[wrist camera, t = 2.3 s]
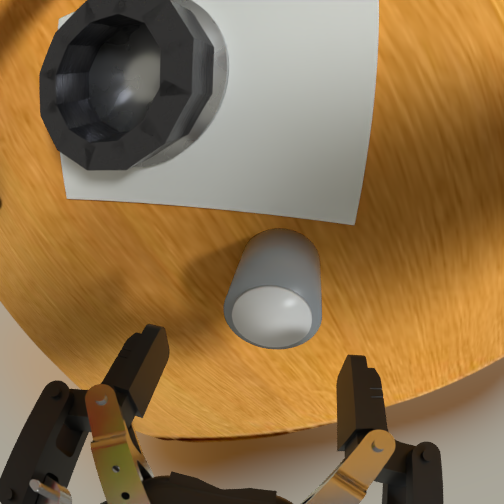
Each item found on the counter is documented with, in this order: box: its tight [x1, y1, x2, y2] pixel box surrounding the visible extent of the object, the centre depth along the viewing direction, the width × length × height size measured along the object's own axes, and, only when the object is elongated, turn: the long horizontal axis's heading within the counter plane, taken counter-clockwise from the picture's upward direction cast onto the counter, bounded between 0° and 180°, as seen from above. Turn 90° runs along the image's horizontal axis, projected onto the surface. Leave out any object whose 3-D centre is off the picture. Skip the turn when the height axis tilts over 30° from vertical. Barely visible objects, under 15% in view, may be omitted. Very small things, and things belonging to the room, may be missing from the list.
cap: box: [224, 228, 322, 349], centre depth 17 cm, size 5×5×5 cm
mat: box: [58, 0, 379, 225], centre depth 14 cm, size 20×14×1 cm
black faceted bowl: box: [40, 0, 229, 171], centre depth 12 cm, size 11×11×4 cm
